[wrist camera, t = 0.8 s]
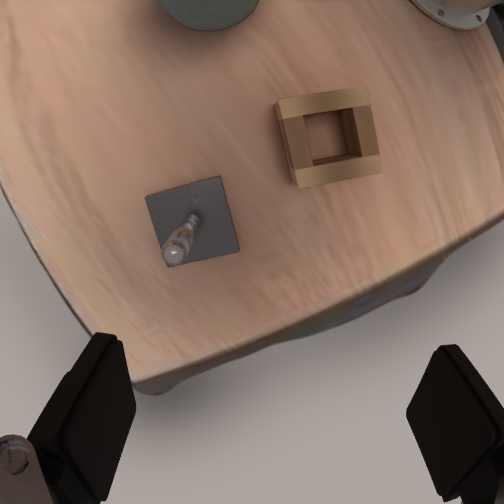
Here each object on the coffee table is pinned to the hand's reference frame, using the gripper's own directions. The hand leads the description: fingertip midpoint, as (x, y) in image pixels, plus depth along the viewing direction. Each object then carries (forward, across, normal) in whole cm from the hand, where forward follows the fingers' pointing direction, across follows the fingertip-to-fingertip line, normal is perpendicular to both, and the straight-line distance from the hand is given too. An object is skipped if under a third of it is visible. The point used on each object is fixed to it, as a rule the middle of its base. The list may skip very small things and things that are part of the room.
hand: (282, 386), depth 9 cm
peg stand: (+22, +6, +2) cm, 23 cm away
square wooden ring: (+22, -5, -7) cm, 23 cm away
